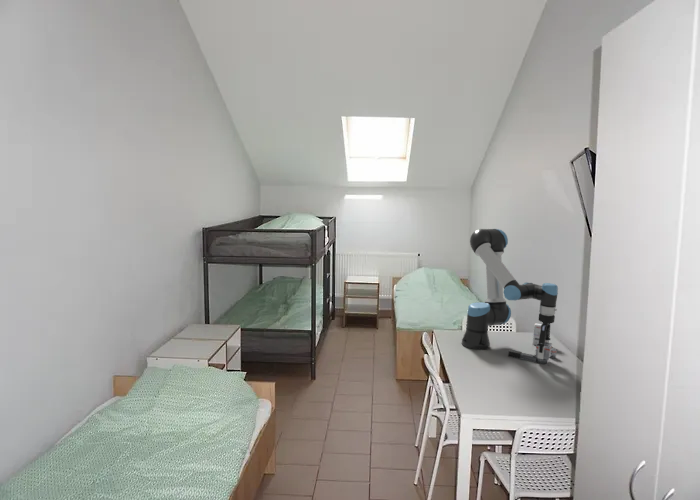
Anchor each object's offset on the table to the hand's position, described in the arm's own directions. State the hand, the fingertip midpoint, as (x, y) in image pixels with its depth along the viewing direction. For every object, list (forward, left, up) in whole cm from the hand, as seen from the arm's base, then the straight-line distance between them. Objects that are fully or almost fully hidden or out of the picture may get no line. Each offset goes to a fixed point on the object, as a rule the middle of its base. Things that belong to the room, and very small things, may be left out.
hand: (542, 355), depth 265 cm
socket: (0, 0, -1) cm, 1 cm away
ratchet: (-7, 0, -4) cm, 8 cm away
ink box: (-6, +31, -4) cm, 32 cm away
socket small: (+3, +12, -4) cm, 13 cm away
